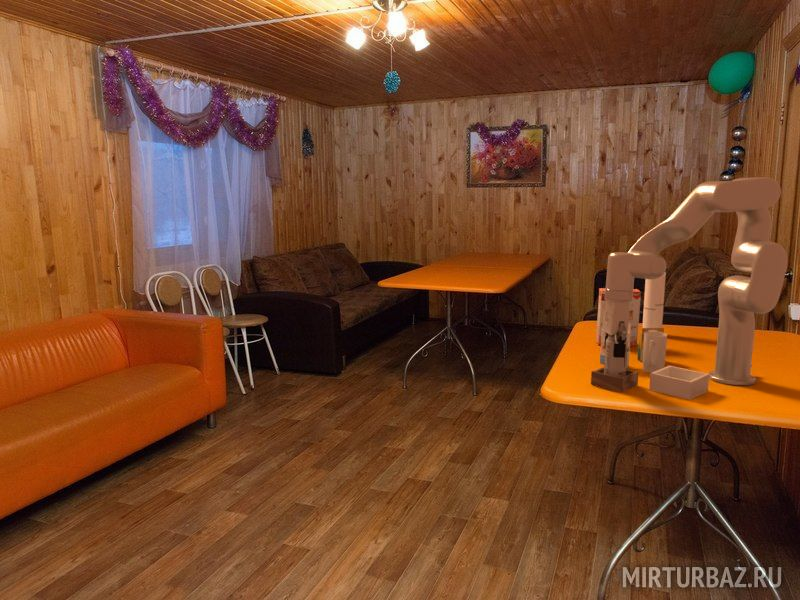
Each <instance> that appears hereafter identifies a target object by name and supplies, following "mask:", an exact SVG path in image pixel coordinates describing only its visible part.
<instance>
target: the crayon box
mask: <svg viewBox="0 0 800 600" xmlns="http://www.w3.org/2000/svg"><path fill="white" fill-rule="evenodd" d="M641 329H642V330H641V331H638V341H637V361H638V362H640V363H643V349H644V333H645V332H649V331H648V330H652V329H654V330H658V331H657V332H661V333H664V329H665V327H662V328H641Z"/></svg>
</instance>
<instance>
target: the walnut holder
mask: <svg viewBox="0 0 800 600" xmlns="http://www.w3.org/2000/svg"><path fill="white" fill-rule="evenodd" d="M591 384H593V385H592V386H595V385H597V386H596V387H599V386H600V387H599V388H603V387H604V388H603V389H606V388H607V390H611V391H615V392H617V393H618V392H619V393H623V392H624V391H628V390H630V389H632V388H634V387H637V386H638V384H639V371H634V370H630V369H627V368H626V376H623V377H616V376H612V375H608V374H604V366H603V367H600V368H598V369H595V370H594V369H593V370H592V371H591V375H590V385H591Z"/></svg>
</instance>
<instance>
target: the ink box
mask: <svg viewBox="0 0 800 600" xmlns="http://www.w3.org/2000/svg"><path fill="white" fill-rule="evenodd" d="M630 331H631V324H630V323H629V327H628V334H627V336H626V337H627V338H626V340H627V342H628V345H627V361H626V369H627V368H629V367H630V366H629V365H630V364H629V363H630V349H631V346H630V336H631V333H630ZM605 336H607V335H605V331H604V330H603V329H602V334H601V345H600V351H599V353H600V354H599V355H600V356H599V363H600V364H602V363H603V365H605V348H604V343H605Z"/></svg>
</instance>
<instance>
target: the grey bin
mask: <svg viewBox="0 0 800 600" xmlns="http://www.w3.org/2000/svg"><path fill="white" fill-rule="evenodd" d="M709 383H710V378H709V373H706V372H701V371H696V370H692V369H686V368H682V367H679V366H673V365H667V366H664V368H662V369H660V370H657V371H655V372H652V373H650V374H649V387H648V388H649V389H648V390H649V391H651V392H652V391H653V392H656V393H661V394H665V395H669V396H672V397H676V398H679V399H685V400H687V401H691V400H692V399H693V400H694V399H695V398H696V397H698V396H701V395H703V394H704V392H705V393H706V391H707V392H708V391H709ZM702 393H703V394H702ZM700 394H701V395H700Z"/></svg>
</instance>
